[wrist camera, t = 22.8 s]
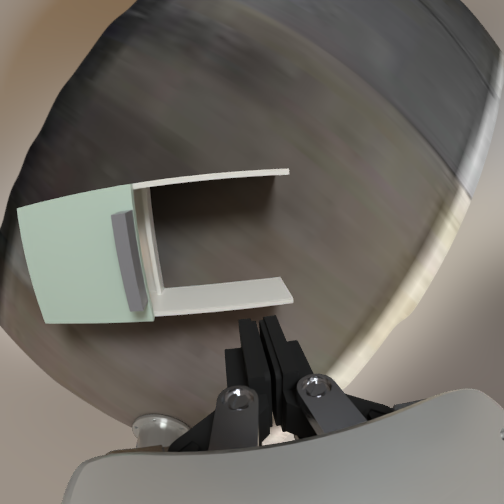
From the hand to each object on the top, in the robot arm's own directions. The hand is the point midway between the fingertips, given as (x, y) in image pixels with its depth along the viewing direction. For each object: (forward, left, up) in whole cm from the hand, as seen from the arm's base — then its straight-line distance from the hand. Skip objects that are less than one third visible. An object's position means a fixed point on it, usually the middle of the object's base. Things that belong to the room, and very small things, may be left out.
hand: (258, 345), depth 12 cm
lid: (0, +18, -18) cm, 25 cm away
